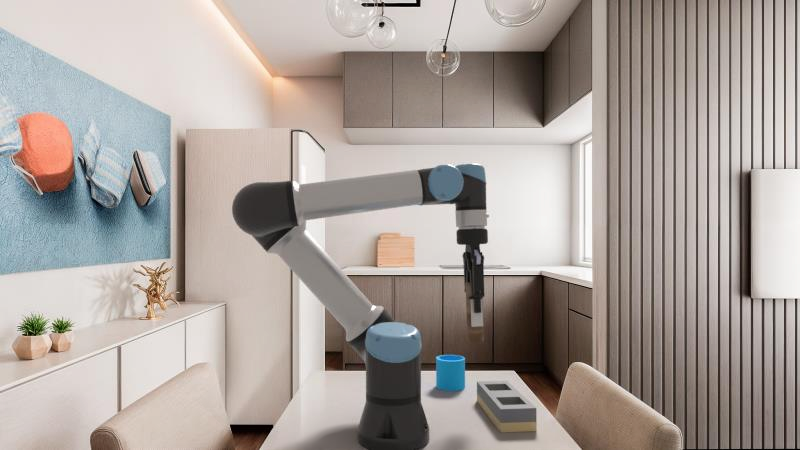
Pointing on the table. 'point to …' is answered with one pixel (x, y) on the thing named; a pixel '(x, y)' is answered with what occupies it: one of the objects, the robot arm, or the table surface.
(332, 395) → the table surface
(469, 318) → the peg
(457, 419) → the table surface
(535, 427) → the rail
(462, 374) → the mug
